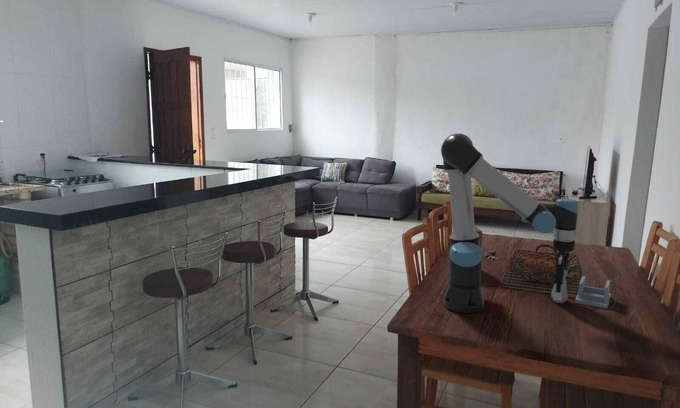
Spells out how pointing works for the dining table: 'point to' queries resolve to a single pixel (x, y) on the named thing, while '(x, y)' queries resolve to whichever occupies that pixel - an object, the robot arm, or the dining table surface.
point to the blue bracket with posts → (593, 295)
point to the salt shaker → (564, 294)
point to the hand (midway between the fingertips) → (559, 297)
